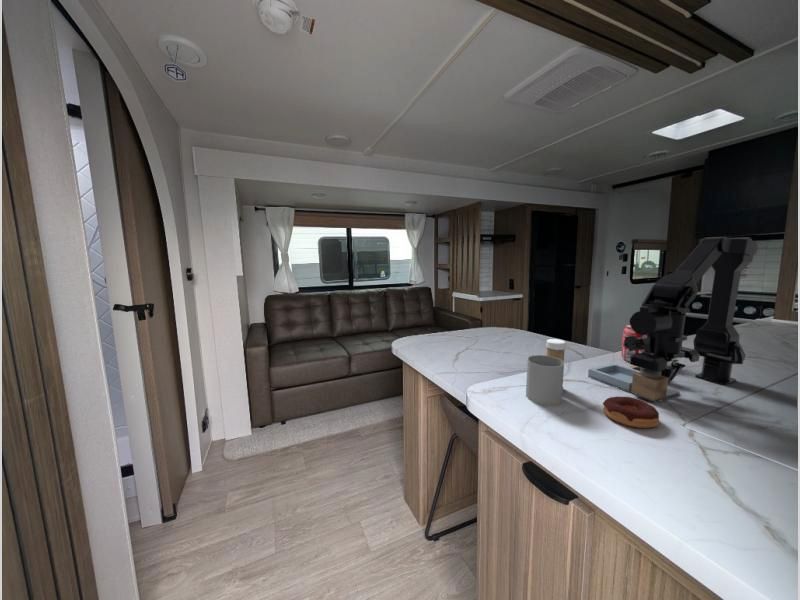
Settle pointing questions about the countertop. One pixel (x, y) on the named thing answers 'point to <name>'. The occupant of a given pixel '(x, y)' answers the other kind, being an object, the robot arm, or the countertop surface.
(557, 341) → the sprinkles bottle
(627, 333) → the soda can
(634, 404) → the donut
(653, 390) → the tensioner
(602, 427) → the countertop surface
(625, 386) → the tray
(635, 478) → the countertop surface
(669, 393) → the rail
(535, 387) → the cup
